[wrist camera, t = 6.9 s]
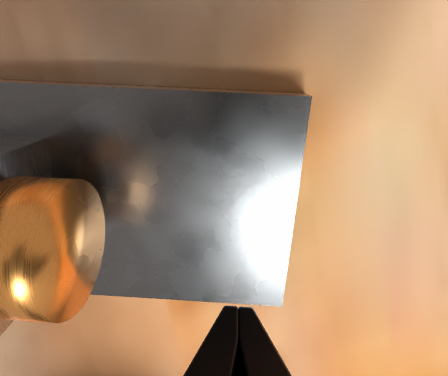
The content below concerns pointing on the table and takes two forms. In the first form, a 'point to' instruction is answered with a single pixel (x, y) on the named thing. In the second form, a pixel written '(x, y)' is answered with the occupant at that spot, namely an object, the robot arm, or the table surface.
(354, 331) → the table surface
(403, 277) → the table surface
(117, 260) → the bearing frame
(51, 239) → the shaft
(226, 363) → the robot arm
